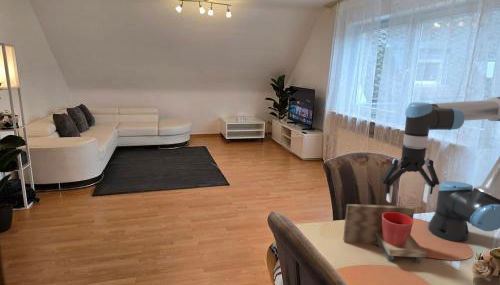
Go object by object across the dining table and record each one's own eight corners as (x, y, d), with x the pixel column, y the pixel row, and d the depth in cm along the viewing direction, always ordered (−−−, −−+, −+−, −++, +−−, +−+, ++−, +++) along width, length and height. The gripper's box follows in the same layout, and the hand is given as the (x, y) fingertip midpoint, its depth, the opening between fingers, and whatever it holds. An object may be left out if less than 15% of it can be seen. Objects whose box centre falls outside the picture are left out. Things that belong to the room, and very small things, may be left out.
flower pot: (413, 250, 116) (417, 226, 114) (381, 246, 118) (385, 222, 116) (405, 235, 126) (409, 213, 124) (376, 232, 128) (379, 210, 126)
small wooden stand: (407, 245, 129) (409, 231, 128) (424, 265, 115) (427, 251, 114) (375, 243, 130) (376, 230, 128) (388, 264, 116) (390, 249, 115)
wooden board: (406, 242, 131) (412, 206, 127) (408, 245, 129) (414, 208, 125) (343, 239, 132) (346, 203, 128) (344, 242, 130) (348, 206, 126)
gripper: (443, 144, 117) (435, 198, 121) (375, 143, 117) (369, 196, 122) (456, 149, 109) (446, 206, 114) (383, 148, 110) (376, 205, 115)
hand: (407, 201), depth 118 cm, fingers open, 13 cm apart
